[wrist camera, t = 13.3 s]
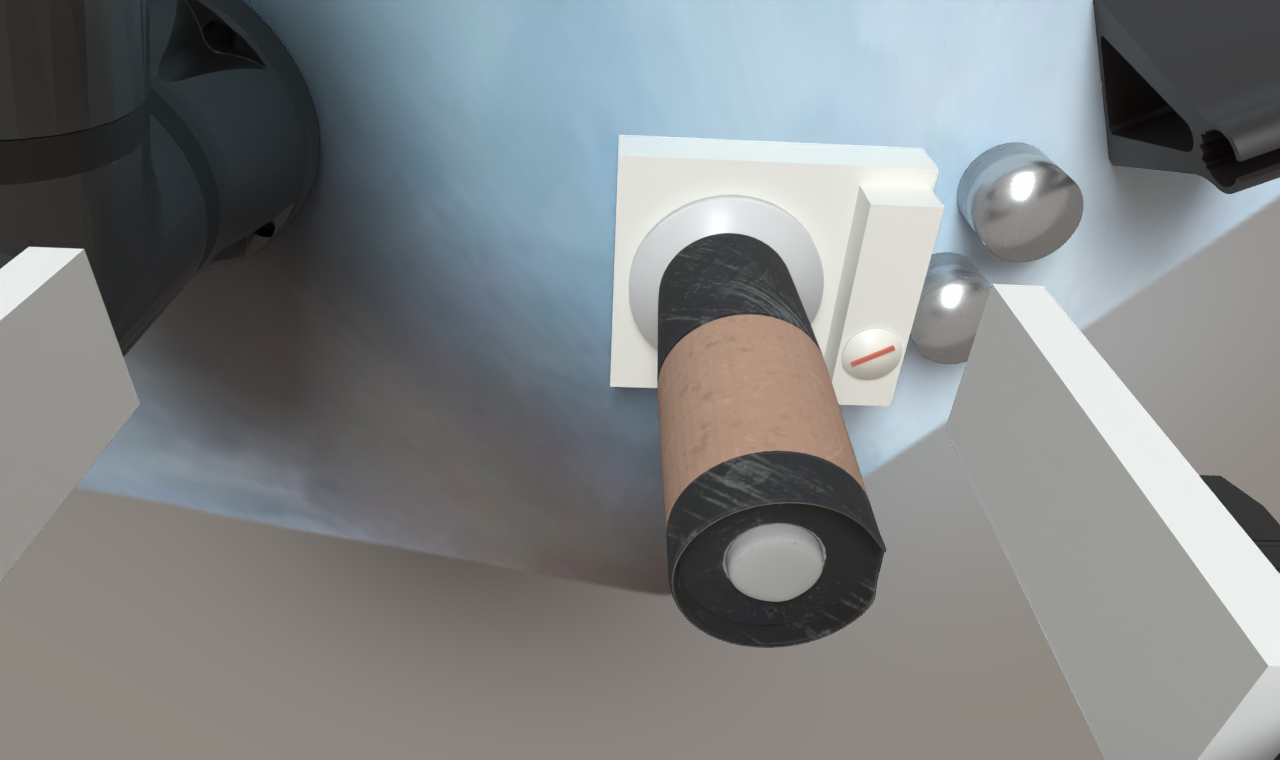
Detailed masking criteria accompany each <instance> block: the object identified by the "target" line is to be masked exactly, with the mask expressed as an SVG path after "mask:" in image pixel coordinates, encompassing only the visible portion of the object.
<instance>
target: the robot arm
mask: <svg viewBox="0 0 1280 760" xmlns="http://www.w3.org/2000/svg"><path fill="white" fill-rule="evenodd" d="M318 160H319V131H318V124H317V118H316V114H315V110H314V106H313V103H312V99H311V97H310V94H309V91H308V88H307V86H306V84H305V81H304V79H303V77H302V75H301V73H300V71H299V69H298V67H297V66H296V64H295V62H294V60H293V59H292V57H291V55H290V54H289V53H288V51H287V50H286V48H285V47H284V45H283V44H282V43H281V41H280V40H279V39H278V37H277V36H276V35H275V34H274V32H273V31H272V30H271V29H270V28H269V27H268V25H267V24H266V23H265V22H264V21H263V20H262V19H261V18H260V17H259V16H258V15H257V14H256V13H255V12H254V11H253V10H252V9H250V8H249V7H248V6H247V5H246V4H245V3H244V2H242V1H241V0H0V582H1V581H2V579H3V578H4V577H5V575H6V574H7V573H8V571H9V570H10V569H11V568H12V566H13V565H14V564H15V563H16V561H17V560H18V559H19V558H20V556H21V555H22V554H23V552H24V551H25V550H26V549H27V547H28V546H29V545H30V544H31V542H32V541H33V540H34V539H35V537H36V536H37V535H38V533H39V532H40V531H41V530H42V528H43V527H44V526H45V525H46V523H47V522H48V521H49V519H50V518H51V517H52V516H53V514H54V513H55V512H56V511H57V509H58V508H59V507H60V506H61V504H62V503H63V502H64V500H65V499H66V498H67V497H68V495H69V494H70V493H71V492H72V490H73V489H74V488H75V486H76V485H77V484H78V483H79V481H80V480H81V479H82V478H83V476H84V475H85V474H86V473H87V471H88V470H89V469H90V467H91V466H92V465H93V464H94V462H95V461H96V460H97V459H98V457H99V456H100V455H101V453H102V452H103V451H104V450H105V448H106V447H107V446H108V445H109V443H110V442H111V441H112V439H113V438H114V437H115V436H116V434H117V433H118V432H119V431H120V429H121V428H122V427H123V425H124V424H125V423H126V422H127V420H128V419H129V418H130V417H131V415H132V414H133V413H134V411H135V410H136V409H137V408H138V406H139V405H140V402H139V399H138V396H137V394H136V391H135V388H134V385H133V383H132V380H131V377H130V374H129V372H128V369H127V366H126V363H125V360H124V358H123V357H124V356H125V355H126V354H127V353H128V351H129V350H130V349H131V348H132V347H133V346H134V344H135V343H136V342H137V341H138V340H139V339H140V338H141V336H142V335H143V334H144V333H145V332H146V331H147V330H148V328H149V327H150V326H151V325H152V324H153V323H154V321H155V320H156V319H157V318H158V317H159V316H160V315H161V313H162V312H163V311H164V310H165V309H166V308H167V306H168V305H169V304H170V303H171V302H172V301H173V300H174V298H175V297H176V296H177V295H178V294H179V293H180V291H181V290H182V289H183V288H184V287H185V286H186V285H187V283H188V282H189V281H190V280H191V278H192V277H193V276H194V275H195V274H198V273H201V272H204V271H207V270H210V269H213V268H216V267H219V266H222V265H225V264H228V263H231V262H234V261H237V260H239V259H242V258H244V257H246V256H249V255H251V254H253V253H255V252H256V251H258V250H260V249H261V248H263V247H264V246H265V245H267V244H268V243H270V242H271V241H272V240H273V239H274V238H276V237H277V236H278V235H279V234H280V233H281V232H282V231H283V230H284V229H285V227H286V226H287V225H288V224H289V222H290V221H291V220H292V218H293V217H294V216H295V215H296V213H297V212H298V211H299V209H300V208H301V207H302V205H303V204H304V202H305V200H306V199H307V197H308V195H309V193H310V191H311V188H312V185H313V183H314V179H315V176H316V172H317V167H318ZM945 431H946V433H947V435H948V438H949V440H950V442H951V444H952V446H953V448H954V450H955V452H956V454H957V456H958V458H959V460H960V462H961V464H962V466H963V468H964V470H965V473H966V475H967V477H968V479H969V481H970V483H971V485H972V487H973V489H974V491H975V493H976V495H977V497H978V499H979V501H980V503H981V505H982V507H983V510H984V511H985V513H986V516H987V518H988V519H989V522H990V524H991V526H992V528H993V530H994V532H995V534H996V536H997V538H998V540H999V542H1000V544H1001V547H1002V548H1003V551H1004V553H1005V555H1006V557H1007V559H1008V561H1009V563H1010V565H1011V567H1012V569H1013V571H1014V573H1015V575H1016V577H1017V579H1018V581H1019V584H1020V586H1021V587H1022V590H1023V592H1024V594H1025V596H1026V598H1027V600H1028V602H1029V604H1030V606H1031V608H1032V610H1033V612H1034V614H1035V616H1036V618H1037V621H1038V622H1039V625H1040V627H1041V629H1042V631H1043V633H1044V635H1045V637H1046V639H1047V641H1048V643H1049V645H1050V647H1051V649H1052V651H1053V653H1054V655H1055V658H1056V660H1057V661H1058V664H1059V666H1060V668H1061V670H1062V672H1063V674H1064V676H1065V678H1066V680H1067V682H1068V684H1069V686H1070V688H1071V690H1072V693H1073V695H1074V696H1075V698H1076V701H1077V703H1078V705H1079V707H1080V709H1081V711H1082V713H1083V715H1084V717H1085V719H1086V721H1087V723H1088V725H1089V727H1090V729H1091V732H1092V733H1093V736H1094V738H1095V740H1096V742H1097V744H1098V746H1099V748H1100V750H1101V752H1102V754H1103V756H1104V758H1105V760H1280V525H1279V524H1278V522H1277V521H1276V520H1275V519H1274V518H1273V517H1272V516H1271V515H1270V513H1269V512H1268V511H1267V510H1266V509H1265V507H1264V506H1262V505H1261V504H1260V503H1258V502H1257V501H1255V500H1254V499H1253V498H1251V497H1250V496H1248V495H1247V494H1245V493H1244V492H1243V491H1241V490H1240V489H1238V488H1237V487H1236V486H1234V485H1232V484H1231V483H1230V482H1229V481H1227V480H1226V479H1224V478H1223V477H1222V476H1207V475H1206V476H1204V475H1198V474H1197V473H1196V472H1195V470H1194V469H1193V468H1192V467H1191V465H1190V464H1189V463H1188V462H1187V460H1186V459H1185V458H1184V457H1183V456H1182V455H1181V453H1180V452H1179V451H1178V449H1177V448H1176V447H1175V446H1174V445H1173V443H1172V442H1171V441H1170V440H1169V439H1168V437H1167V436H1166V435H1165V434H1164V432H1163V431H1162V430H1161V429H1160V428H1159V427H1158V425H1157V424H1156V423H1155V421H1154V420H1153V419H1152V418H1151V417H1150V416H1149V414H1148V413H1147V412H1146V410H1145V409H1144V408H1143V407H1142V406H1141V404H1140V403H1139V402H1138V401H1137V399H1136V398H1135V397H1134V396H1133V395H1132V393H1131V392H1130V391H1129V390H1128V389H1127V387H1126V386H1125V385H1124V384H1123V382H1122V381H1121V380H1120V379H1119V378H1118V376H1117V375H1116V374H1115V373H1114V372H1113V370H1112V369H1111V368H1110V367H1109V365H1108V364H1107V363H1106V362H1105V361H1104V359H1103V358H1102V357H1101V356H1100V354H1099V353H1098V352H1097V351H1096V350H1095V348H1094V347H1093V346H1092V345H1091V344H1090V342H1089V341H1088V340H1087V339H1086V337H1085V336H1084V335H1083V334H1082V332H1081V331H1080V330H1079V329H1078V328H1077V326H1076V325H1075V324H1074V323H1073V322H1072V320H1071V319H1070V318H1069V317H1068V315H1067V314H1066V313H1065V312H1064V311H1063V309H1062V308H1061V307H1060V306H1059V304H1058V303H1057V302H1056V301H1055V300H1054V298H1053V297H1052V296H1051V295H1050V293H1049V292H1048V291H1047V290H1046V289H1045V287H1044V286H1034V285H1008V284H992V287H991V290H990V293H989V296H988V299H987V302H986V305H985V308H984V311H983V314H982V317H981V320H980V323H979V327H978V330H977V333H976V336H975V339H974V342H973V345H972V348H971V351H970V354H969V357H968V360H967V364H966V367H965V370H964V373H963V376H962V379H961V382H960V385H959V388H958V391H957V394H956V397H955V400H954V404H953V407H952V410H951V413H950V416H949V419H948V422H947V425H946V428H945Z"/></svg>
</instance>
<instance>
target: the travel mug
mask: <svg viewBox="0 0 1280 760" xmlns="http://www.w3.org/2000/svg"><path fill="white" fill-rule="evenodd" d="M657 386H658V388H657V391H658V407H659V423H660V440H661V456H662V472H663V488H664V505H665V521H666V538H667V554H668V571H669V583H670V588H671V592H672V595H673V598H674V600H675V602H676V605H677V606H678V608H679V609H680V611H681V612H682V614H683V615H684V616H685V617H686V618H687V619H688V620H689V621H690V622H691V623H692V624H693V625H695V626H696V627H697V628H698V629H700V630H701V631H703V632H705V633H706V634H708V635H710V636H713V637H715V638H717V639H719V640H723V641H726V642H729V643H732V644H737V645H742V646H749V647H761V648H773V647H786V646H793V645H799V644H803V643H808V642H811V641H814V640H818V639H821V638H823V637H825V636H828V635H830V634H832V633H835V632H837V631H839V630H840V629H842V628H844V627H846V626H847V625H849V624H850V623H852V622H853V621H855V620H856V619H857V618H858V617H860V616H861V615H862V614H863V613H864V612H865V611H866V610H867V609H868V608H869V607H870V606H871V604H872V603H873V601H874V599H875V595H876V587H877V580H878V575H879V572H880V568H881V564H882V559H883V555H884V552H886V547H885V545H884V542H883V540H882V537H881V535H880V533H879V530H878V527H877V523H876V520H875V518H874V514H873V511H872V508H871V505H870V502H869V499H868V496H867V492H866V489H865V486H864V483H863V480H862V476H861V473H860V470H859V467H858V464H857V461H856V457H855V454H854V451H853V448H852V445H851V442H850V439H849V435H848V432H847V429H846V426H845V423H844V420H843V416H842V413H841V410H840V407H839V404H838V401H837V398H836V394H835V391H834V388H833V385H832V382H831V379H830V375H829V372H828V369H827V366H826V363H825V360H824V358H823V355H822V352H821V350H820V347H819V345H818V342H817V340H816V337H815V334H814V332H813V329H812V327H811V324H810V322H809V319H808V317H807V314H806V312H805V309H804V307H803V304H802V302H801V299H800V297H799V294H798V292H797V289H796V287H795V284H794V282H793V280H792V277H791V275H790V273H789V270H788V268H787V266H786V264H785V263H784V261H783V260H782V258H781V257H780V256H779V254H778V253H777V252H776V251H775V250H774V249H772V248H771V247H770V246H769V245H767V244H766V243H764V242H762V241H760V240H758V239H756V238H754V237H751V236H748V235H743V234H737V233H721V234H715V235H710V236H707V237H704V238H701V239H699V240H696V241H694V242H693V243H691V244H689V245H688V246H686V247H685V248H683V249H682V250H681V251H680V252H679V253H678V254H677V255H676V256H675V257H674V258H673V259H672V260H671V262H670V263H669V264H668V266H667V268H666V270H665V271H664V274H663V276H662V279H661V283H660V287H659V296H658V362H657Z"/></svg>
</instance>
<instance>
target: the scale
mask: <svg viewBox="0 0 1280 760" xmlns="http://www.w3.org/2000/svg"><path fill="white" fill-rule="evenodd" d="M938 171H939V168H938V167H937V166H936V165H935V163H934V162H933V161H932V160H931V158H930V157H929V156H928V155H927V153H926V152H925V151H924V150H923V148H912V147H889V146H866V145H844V144H821V143H799V142H776V141H754V140H731V139H708V138H686V137H663V136H641V135H619V146H618V175H617V204H616V232H615V261H614V290H613V319H612V347H611V378H610V387H638V388H658V386H657V362H658V296H659V287H660V283H661V279H662V276H663V274H664V271H665V270H666V268H667V266H668V264H669V263H670V262H671V260H672V259H673V258H674V257H675V256H676V255H677V254H678V253H679V252H680V251H681V250H682V249H683V248H685V247H686V246H688V245H689V244H691V243H693V242H694V241H696V240H699V239H701V238H704V237H707V236H710V235H715V234H721V233H737V234H743V235H748V236H751V237H754V238H756V239H758V240H760V241H762V242H764V243H766V244H767V245H769V246H770V247H771V248H772V249H774V250H775V251H776V252H777V253H778V254H779V256H780V257H781V258H782V260H783V261H784V263H785V264H786V266H787V268H788V270H789V273H790V275H791V277H792V280H793V282H794V284H795V287H796V289H797V292H798V294H799V297H800V299H801V302H802V304H803V307H804V309H805V312H806V314H807V317H808V319H809V322H810V324H811V327H812V329H813V332H814V334H815V337H816V340H817V342H818V345H819V347H820V350H821V352H822V355H823V358H824V360H825V363H826V366H827V369H828V372H829V375H830V379H831V382H832V385H833V388H834V391H835V394H836V398H837V401H838V404H839V405H865V406H891V402H892V399H893V395H894V391H895V388H896V384H897V380H898V377H899V373H900V369H901V366H902V362H903V358H904V355H905V351H906V347H907V344H908V340H909V336H910V333H911V329H912V325H913V322H914V318H915V314H916V311H917V307H918V303H919V300H920V296H921V292H922V289H923V285H924V281H925V278H926V274H927V270H928V267H929V263H930V259H931V255H932V252H933V248H934V244H935V241H936V237H937V233H938V230H939V226H940V222H941V219H942V215H943V211H944V208H945V207H944V206H943V205H942V203H941V202H940V201H939V199H938V198H937V196H936V195H935V194H934V192H933V190H934V187H935V183H936V179H937V175H938Z"/></svg>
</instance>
